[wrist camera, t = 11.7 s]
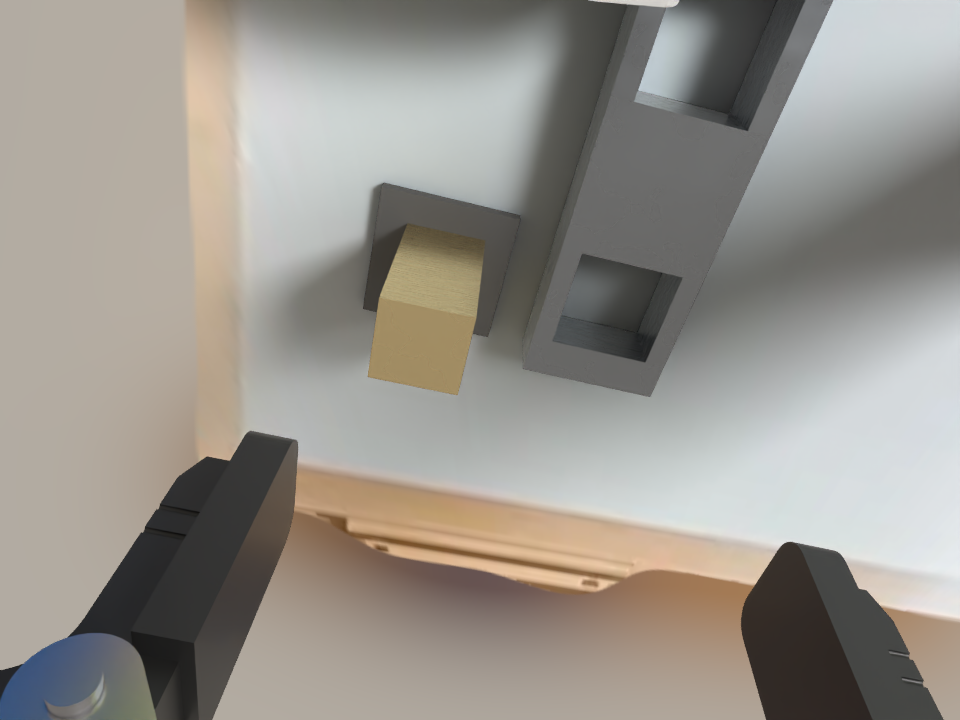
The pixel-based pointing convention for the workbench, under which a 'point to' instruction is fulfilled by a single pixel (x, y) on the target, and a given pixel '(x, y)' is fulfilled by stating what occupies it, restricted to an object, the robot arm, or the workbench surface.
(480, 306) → the pad
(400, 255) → the tan wooden beam
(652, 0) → the white arched device
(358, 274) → the workbench surface
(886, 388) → the workbench surface
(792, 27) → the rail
